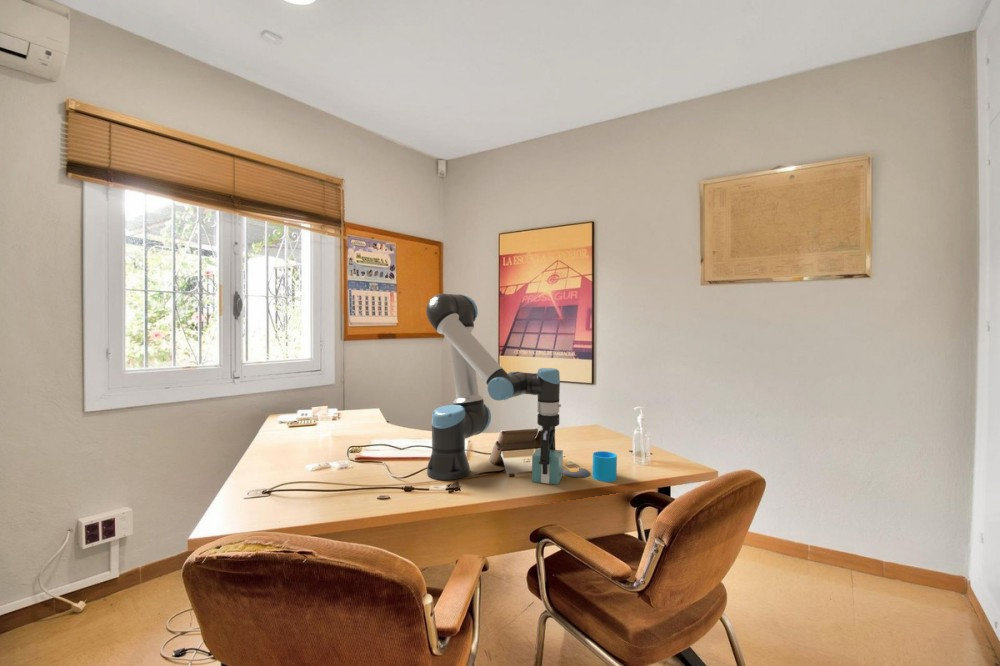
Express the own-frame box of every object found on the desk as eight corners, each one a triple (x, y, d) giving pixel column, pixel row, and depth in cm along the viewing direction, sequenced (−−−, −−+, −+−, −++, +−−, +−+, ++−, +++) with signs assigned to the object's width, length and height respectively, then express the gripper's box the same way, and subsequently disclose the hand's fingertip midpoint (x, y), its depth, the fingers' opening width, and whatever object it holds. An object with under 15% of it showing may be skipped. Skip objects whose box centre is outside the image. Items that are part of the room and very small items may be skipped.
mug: (619, 481, 159) (619, 458, 158) (595, 482, 158) (596, 458, 158) (609, 470, 171) (610, 448, 170) (587, 470, 170) (588, 448, 170)
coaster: (559, 476, 164) (559, 474, 164) (563, 467, 174) (563, 466, 173) (588, 479, 161) (588, 477, 161) (590, 469, 171) (590, 468, 171)
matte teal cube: (531, 481, 158) (532, 455, 158) (537, 473, 167) (537, 448, 166) (558, 484, 155) (558, 457, 155) (562, 475, 164) (562, 450, 164)
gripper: (554, 420, 149) (553, 490, 150) (563, 408, 170) (563, 469, 170) (531, 419, 151) (530, 488, 152) (543, 406, 172) (543, 467, 172)
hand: (547, 478), depth 161 cm, fingers closed on matte teal cube, 9 cm apart
